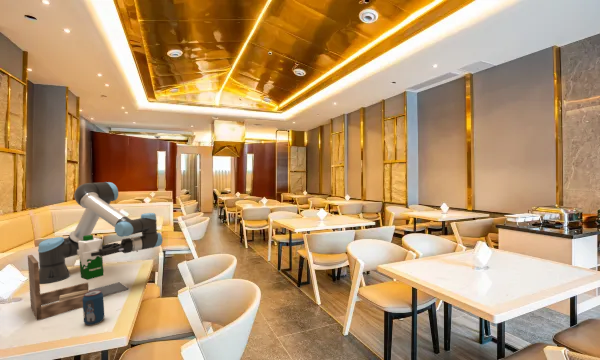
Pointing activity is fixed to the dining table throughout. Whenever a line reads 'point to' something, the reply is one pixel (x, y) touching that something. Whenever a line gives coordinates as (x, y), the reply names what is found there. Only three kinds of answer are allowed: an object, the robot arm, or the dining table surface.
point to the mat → (111, 289)
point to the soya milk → (90, 265)
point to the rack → (51, 295)
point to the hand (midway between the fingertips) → (79, 254)
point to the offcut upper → (72, 295)
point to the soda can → (93, 307)
